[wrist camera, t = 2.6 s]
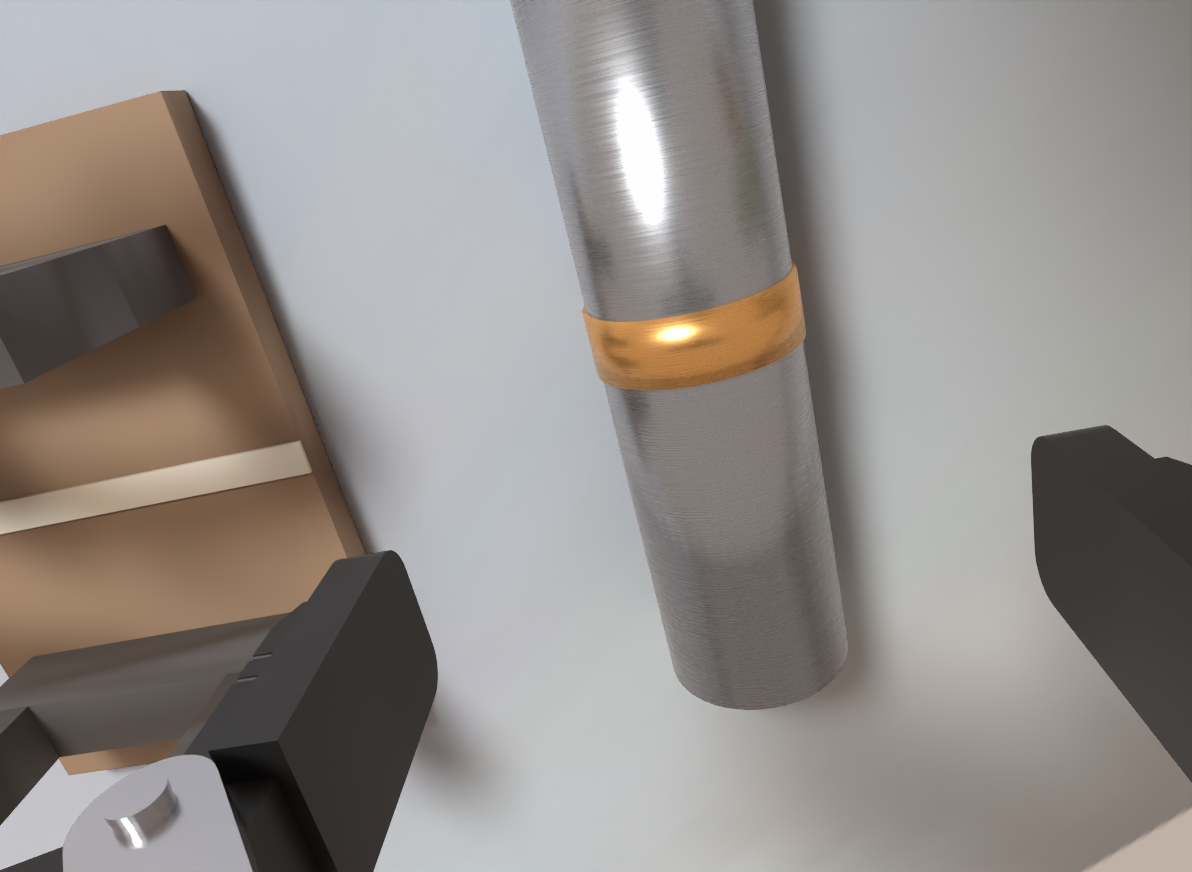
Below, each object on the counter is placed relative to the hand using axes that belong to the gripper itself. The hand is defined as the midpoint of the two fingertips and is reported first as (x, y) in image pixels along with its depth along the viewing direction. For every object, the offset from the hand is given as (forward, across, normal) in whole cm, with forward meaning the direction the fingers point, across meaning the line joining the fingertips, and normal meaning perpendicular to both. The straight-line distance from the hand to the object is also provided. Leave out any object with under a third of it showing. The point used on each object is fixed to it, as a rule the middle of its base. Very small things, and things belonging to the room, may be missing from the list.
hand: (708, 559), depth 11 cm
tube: (+13, 0, 0) cm, 13 cm away
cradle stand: (+14, +18, +2) cm, 22 cm away
